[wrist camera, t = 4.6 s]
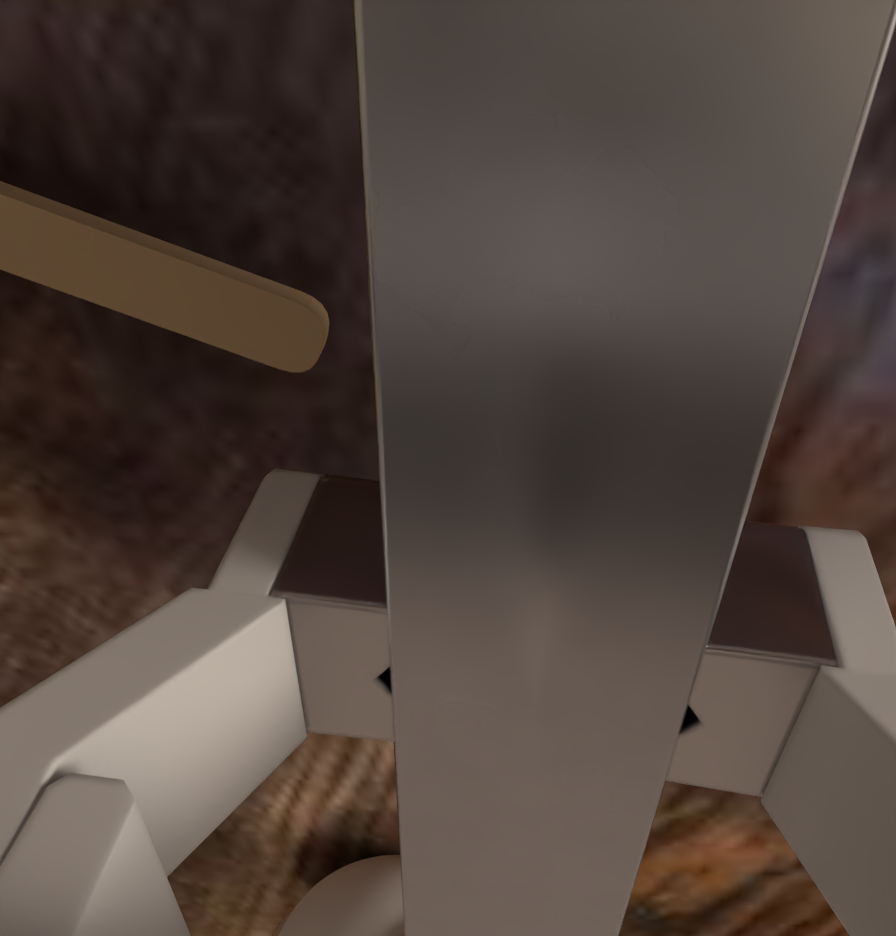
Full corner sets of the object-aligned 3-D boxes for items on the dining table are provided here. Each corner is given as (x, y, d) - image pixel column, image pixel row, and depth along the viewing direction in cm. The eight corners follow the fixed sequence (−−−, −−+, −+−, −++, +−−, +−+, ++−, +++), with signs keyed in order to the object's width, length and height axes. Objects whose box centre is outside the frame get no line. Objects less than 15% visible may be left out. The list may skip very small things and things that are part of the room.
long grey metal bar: (467, -729, 5) (267, -1399, 2) (924, -755, 4) (1393, -1574, 2) (446, 806, 15) (408, 1035, 12) (586, 827, 15) (580, 1066, 12)
